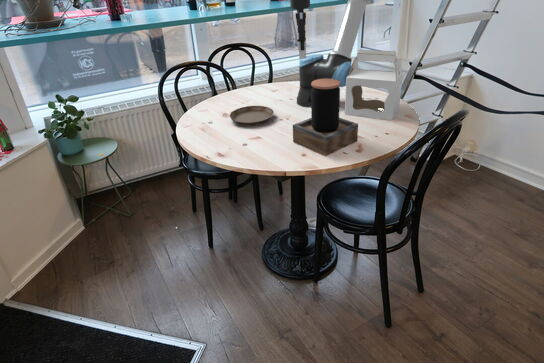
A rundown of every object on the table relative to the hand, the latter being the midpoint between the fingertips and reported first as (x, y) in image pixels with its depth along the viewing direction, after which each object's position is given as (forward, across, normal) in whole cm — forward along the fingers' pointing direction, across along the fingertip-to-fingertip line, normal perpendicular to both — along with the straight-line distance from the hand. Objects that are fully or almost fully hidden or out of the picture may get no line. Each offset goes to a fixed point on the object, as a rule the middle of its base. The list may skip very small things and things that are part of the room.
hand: (302, 54), depth 153 cm
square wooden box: (+30, +21, +7) cm, 37 cm away
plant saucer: (+30, -7, -24) cm, 40 cm away
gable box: (+31, -9, +32) cm, 45 cm away
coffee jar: (+24, +21, +7) cm, 33 cm away
